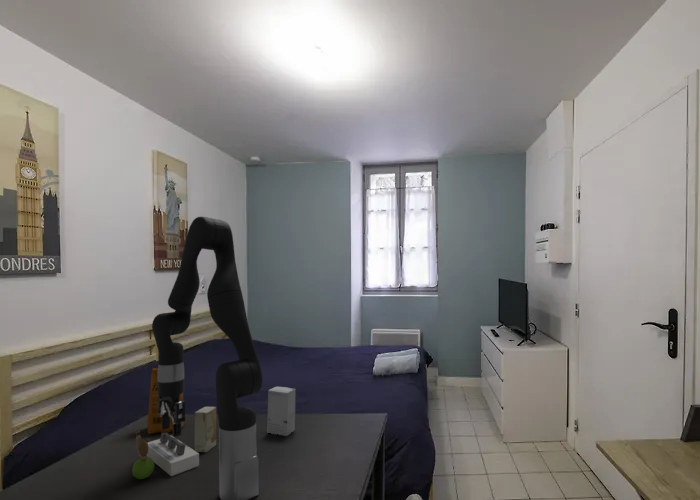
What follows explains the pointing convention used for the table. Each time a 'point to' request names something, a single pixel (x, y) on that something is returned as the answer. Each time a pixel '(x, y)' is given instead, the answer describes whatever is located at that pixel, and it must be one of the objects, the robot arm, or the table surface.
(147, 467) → the snail figurine
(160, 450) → the strip
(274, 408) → the skincare box
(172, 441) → the breaker paddles
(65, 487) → the table surface
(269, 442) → the table surface
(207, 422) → the skincare box
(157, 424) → the coffee package
